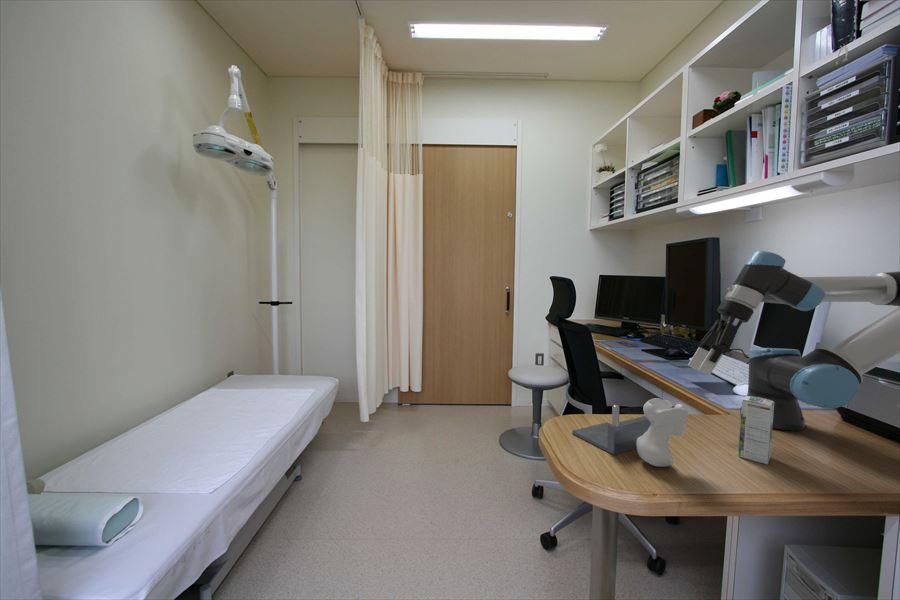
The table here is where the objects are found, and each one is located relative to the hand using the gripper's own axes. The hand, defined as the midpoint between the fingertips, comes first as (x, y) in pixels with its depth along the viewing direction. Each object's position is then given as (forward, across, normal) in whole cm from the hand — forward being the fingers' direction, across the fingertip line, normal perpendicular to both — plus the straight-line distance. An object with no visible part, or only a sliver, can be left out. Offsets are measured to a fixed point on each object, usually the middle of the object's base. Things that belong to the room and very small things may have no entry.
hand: (697, 370), depth 103 cm
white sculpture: (+24, +22, 0) cm, 33 cm away
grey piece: (+28, +11, -11) cm, 32 cm away
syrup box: (+13, +8, +18) cm, 24 cm away
